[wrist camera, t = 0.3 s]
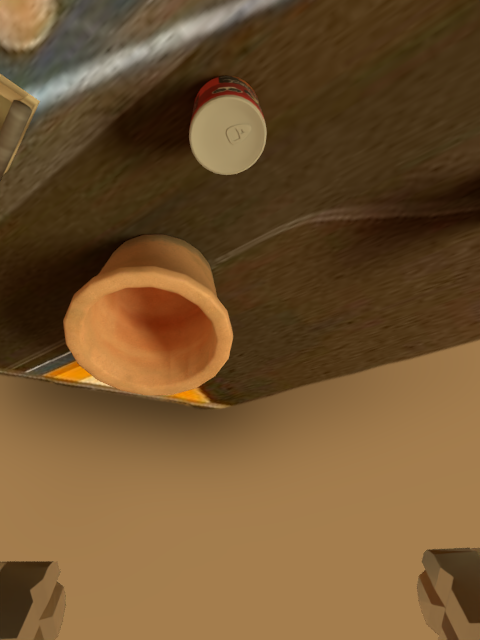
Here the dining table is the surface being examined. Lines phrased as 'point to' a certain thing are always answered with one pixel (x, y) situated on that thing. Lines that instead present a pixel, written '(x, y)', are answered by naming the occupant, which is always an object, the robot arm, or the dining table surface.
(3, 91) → the bay
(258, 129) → the canned food
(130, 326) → the pottery
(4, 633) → the robot arm
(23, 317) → the dining table surface
